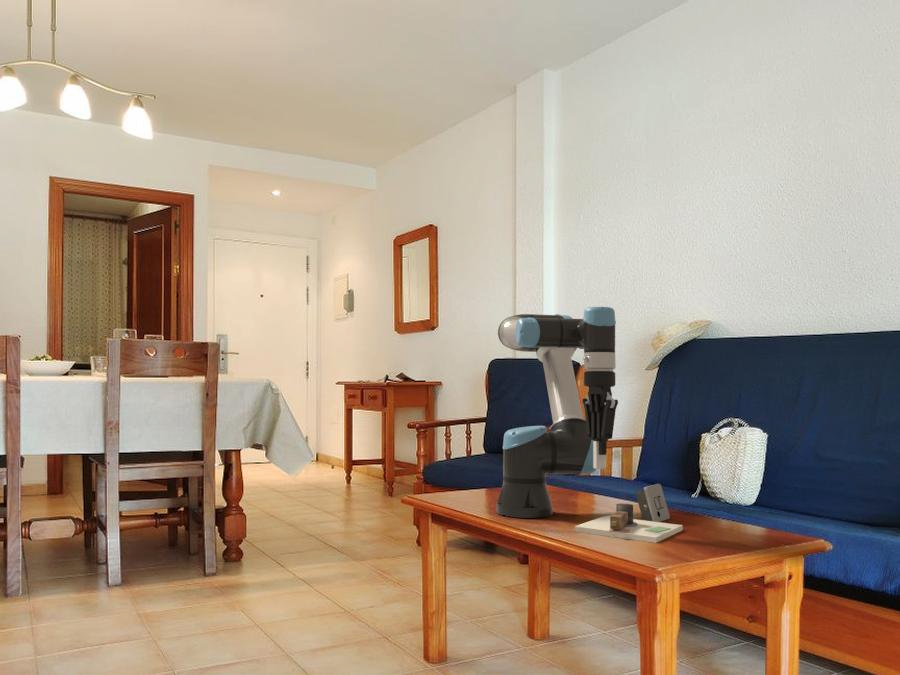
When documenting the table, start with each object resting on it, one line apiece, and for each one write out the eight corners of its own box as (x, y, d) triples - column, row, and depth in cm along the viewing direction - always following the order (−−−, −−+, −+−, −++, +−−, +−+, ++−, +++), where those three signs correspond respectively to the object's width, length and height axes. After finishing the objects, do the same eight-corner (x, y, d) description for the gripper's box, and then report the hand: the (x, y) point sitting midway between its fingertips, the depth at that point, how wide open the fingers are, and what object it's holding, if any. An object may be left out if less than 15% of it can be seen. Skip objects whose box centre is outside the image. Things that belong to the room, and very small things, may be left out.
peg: (618, 520, 182) (618, 502, 183) (634, 522, 181) (634, 504, 181) (604, 530, 170) (604, 511, 171) (621, 532, 169) (621, 512, 169)
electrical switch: (656, 524, 187) (652, 487, 188) (636, 523, 190) (633, 487, 191) (670, 519, 194) (667, 483, 195) (651, 518, 197) (648, 483, 198)
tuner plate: (573, 531, 176) (573, 525, 176) (606, 520, 191) (606, 514, 191) (655, 543, 165) (655, 536, 165) (682, 530, 179) (682, 524, 179)
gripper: (572, 370, 185) (573, 465, 183) (599, 369, 172) (600, 471, 171) (599, 371, 187) (599, 465, 185) (627, 370, 175) (628, 470, 173)
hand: (599, 468), depth 178 cm, fingers closed
